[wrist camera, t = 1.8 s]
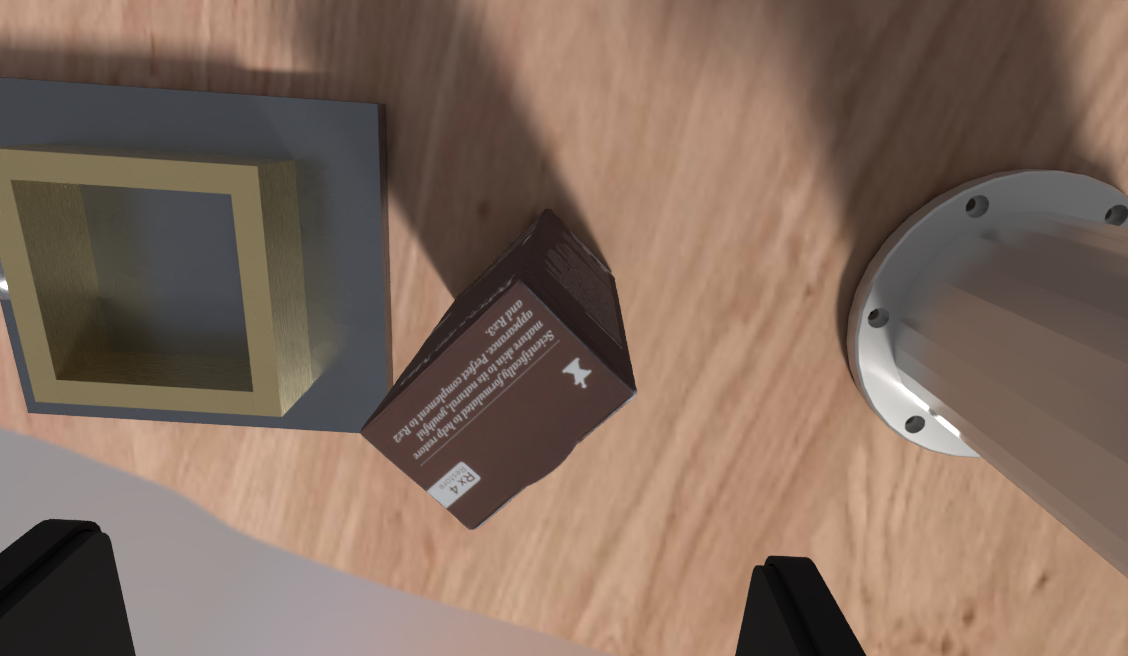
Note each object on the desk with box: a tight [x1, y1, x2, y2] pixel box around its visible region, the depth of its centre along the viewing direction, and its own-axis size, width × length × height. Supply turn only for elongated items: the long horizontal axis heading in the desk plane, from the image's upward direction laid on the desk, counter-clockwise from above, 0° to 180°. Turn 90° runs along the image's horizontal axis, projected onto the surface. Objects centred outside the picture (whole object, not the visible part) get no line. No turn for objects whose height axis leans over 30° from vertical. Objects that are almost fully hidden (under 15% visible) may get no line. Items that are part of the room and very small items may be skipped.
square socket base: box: [0, 78, 393, 433], centre depth 24 cm, size 16×14×4 cm
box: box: [360, 209, 637, 530], centre depth 21 cm, size 6×4×12 cm
